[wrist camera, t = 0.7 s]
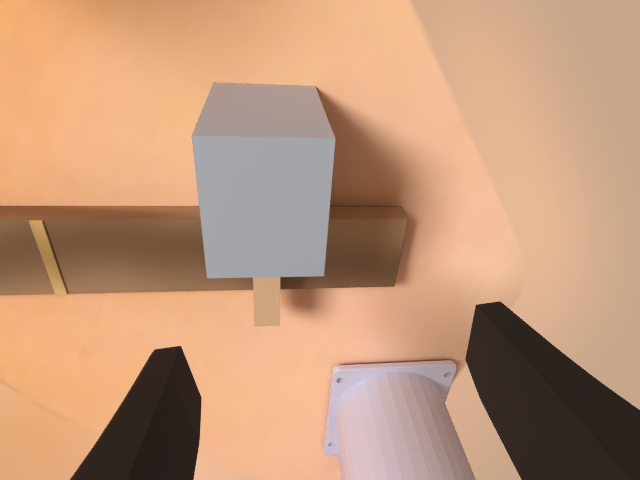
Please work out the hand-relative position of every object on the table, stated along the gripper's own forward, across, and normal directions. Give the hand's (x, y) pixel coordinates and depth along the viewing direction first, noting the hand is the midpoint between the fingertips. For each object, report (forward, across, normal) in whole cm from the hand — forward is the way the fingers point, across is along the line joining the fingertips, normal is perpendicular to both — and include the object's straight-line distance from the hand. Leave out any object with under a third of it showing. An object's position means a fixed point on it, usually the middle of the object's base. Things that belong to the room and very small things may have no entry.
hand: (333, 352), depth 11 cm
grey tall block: (+10, +2, +1) cm, 11 cm away
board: (+10, +6, +3) cm, 13 cm away
